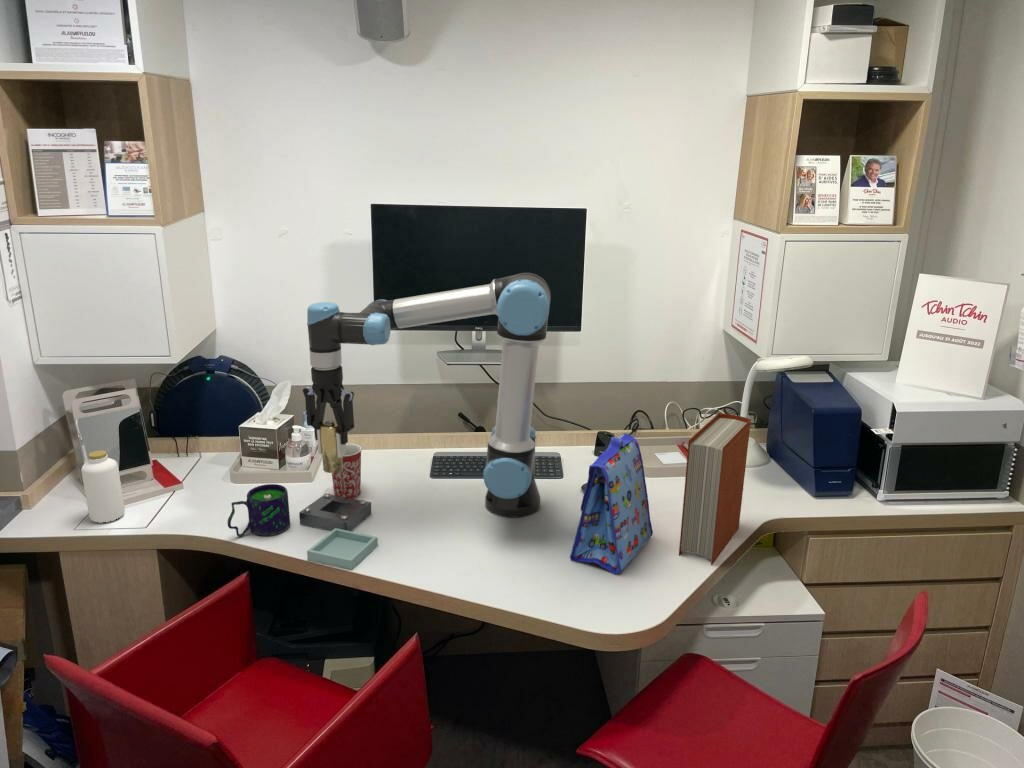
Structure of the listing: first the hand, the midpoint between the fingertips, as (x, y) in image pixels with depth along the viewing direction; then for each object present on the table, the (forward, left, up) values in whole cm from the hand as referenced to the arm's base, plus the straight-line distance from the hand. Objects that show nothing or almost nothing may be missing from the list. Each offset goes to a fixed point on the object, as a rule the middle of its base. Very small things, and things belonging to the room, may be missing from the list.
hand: (332, 453), depth 196 cm
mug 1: (+15, +12, -19) cm, 27 cm away
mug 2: (+6, -16, -19) cm, 25 cm away
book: (-93, -25, -19) cm, 98 cm away
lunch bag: (-71, -12, -19) cm, 74 cm away
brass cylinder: (0, 0, -4) cm, 4 cm away
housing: (0, 0, -19) cm, 19 cm away
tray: (-11, +14, -19) cm, 26 cm away
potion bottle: (+56, +21, -19) cm, 63 cm away
